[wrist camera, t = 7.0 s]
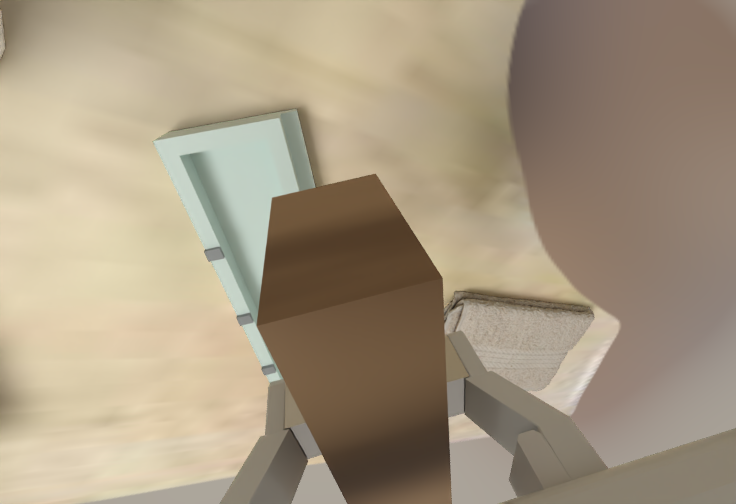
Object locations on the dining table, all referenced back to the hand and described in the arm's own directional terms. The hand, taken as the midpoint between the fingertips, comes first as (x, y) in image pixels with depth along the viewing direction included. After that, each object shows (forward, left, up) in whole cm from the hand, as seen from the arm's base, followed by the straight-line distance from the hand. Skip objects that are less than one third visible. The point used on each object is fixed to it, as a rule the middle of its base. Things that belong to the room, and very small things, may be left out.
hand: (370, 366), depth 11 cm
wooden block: (0, 0, -2) cm, 2 cm away
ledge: (+8, -5, -16) cm, 18 cm away
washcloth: (+21, +15, -17) cm, 31 cm away
